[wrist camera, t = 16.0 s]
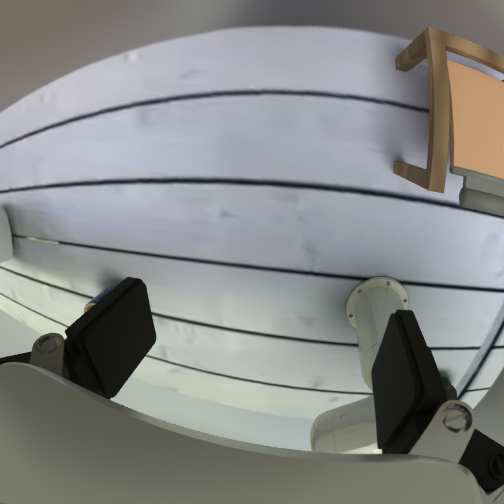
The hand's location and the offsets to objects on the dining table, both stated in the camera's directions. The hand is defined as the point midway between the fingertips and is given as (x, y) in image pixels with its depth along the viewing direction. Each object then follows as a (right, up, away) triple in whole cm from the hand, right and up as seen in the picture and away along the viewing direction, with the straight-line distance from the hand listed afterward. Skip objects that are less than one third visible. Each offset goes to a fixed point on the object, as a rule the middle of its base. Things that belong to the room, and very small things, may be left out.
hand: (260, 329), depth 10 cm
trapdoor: (+30, +17, +13) cm, 36 cm away
